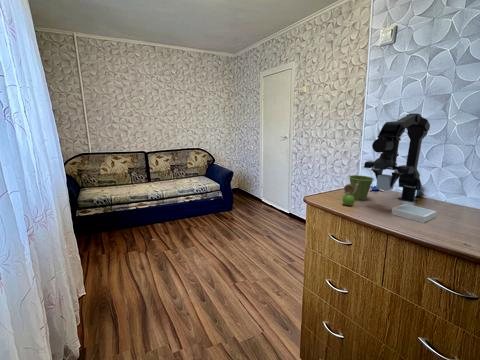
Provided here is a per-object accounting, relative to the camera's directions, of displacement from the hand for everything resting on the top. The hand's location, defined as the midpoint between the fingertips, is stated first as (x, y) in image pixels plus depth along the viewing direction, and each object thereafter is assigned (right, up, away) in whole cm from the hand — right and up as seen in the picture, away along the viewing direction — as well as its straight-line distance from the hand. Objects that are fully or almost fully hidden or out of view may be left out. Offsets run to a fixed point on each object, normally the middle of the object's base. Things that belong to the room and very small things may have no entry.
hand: (384, 185), depth 110 cm
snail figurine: (-13, -10, +7) cm, 18 cm away
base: (+9, -13, -6) cm, 16 cm away
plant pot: (-3, -7, +19) cm, 20 cm away
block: (0, -1, 0) cm, 1 cm away
